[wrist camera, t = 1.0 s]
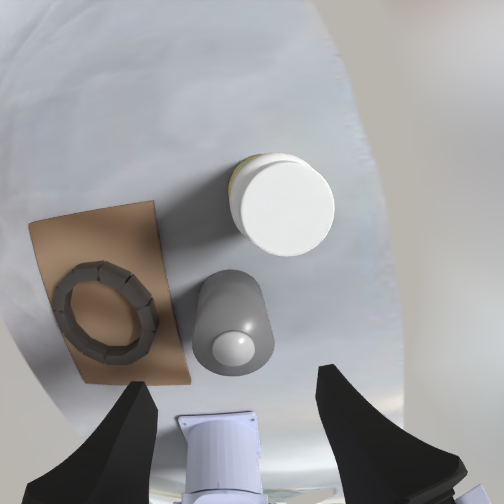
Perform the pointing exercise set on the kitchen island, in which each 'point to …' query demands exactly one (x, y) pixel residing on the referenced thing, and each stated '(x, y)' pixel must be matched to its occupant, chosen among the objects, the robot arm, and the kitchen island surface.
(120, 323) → the ring board
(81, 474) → the robot arm
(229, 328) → the cap
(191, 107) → the kitchen island surface
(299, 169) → the supplement bottle
